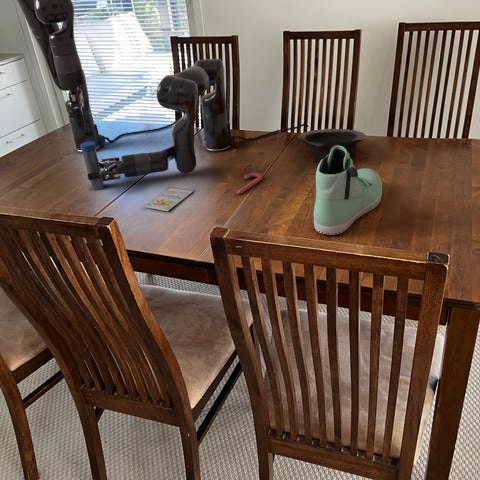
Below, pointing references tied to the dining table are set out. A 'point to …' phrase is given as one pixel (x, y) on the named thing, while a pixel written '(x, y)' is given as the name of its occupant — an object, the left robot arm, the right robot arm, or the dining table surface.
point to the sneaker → (343, 192)
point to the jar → (93, 168)
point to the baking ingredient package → (168, 199)
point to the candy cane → (250, 182)
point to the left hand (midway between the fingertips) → (82, 122)
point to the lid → (88, 146)
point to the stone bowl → (330, 141)
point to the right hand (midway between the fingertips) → (88, 172)
